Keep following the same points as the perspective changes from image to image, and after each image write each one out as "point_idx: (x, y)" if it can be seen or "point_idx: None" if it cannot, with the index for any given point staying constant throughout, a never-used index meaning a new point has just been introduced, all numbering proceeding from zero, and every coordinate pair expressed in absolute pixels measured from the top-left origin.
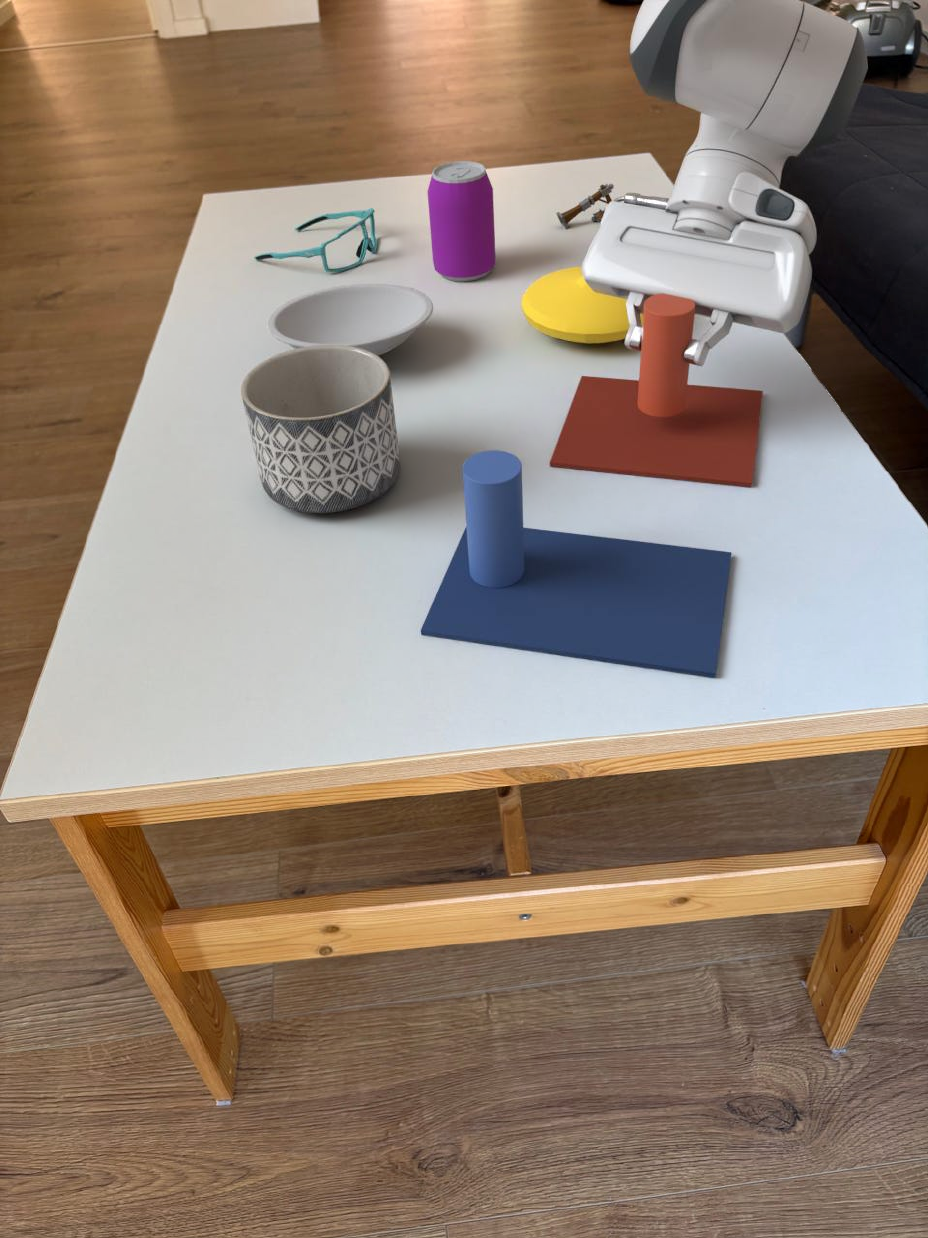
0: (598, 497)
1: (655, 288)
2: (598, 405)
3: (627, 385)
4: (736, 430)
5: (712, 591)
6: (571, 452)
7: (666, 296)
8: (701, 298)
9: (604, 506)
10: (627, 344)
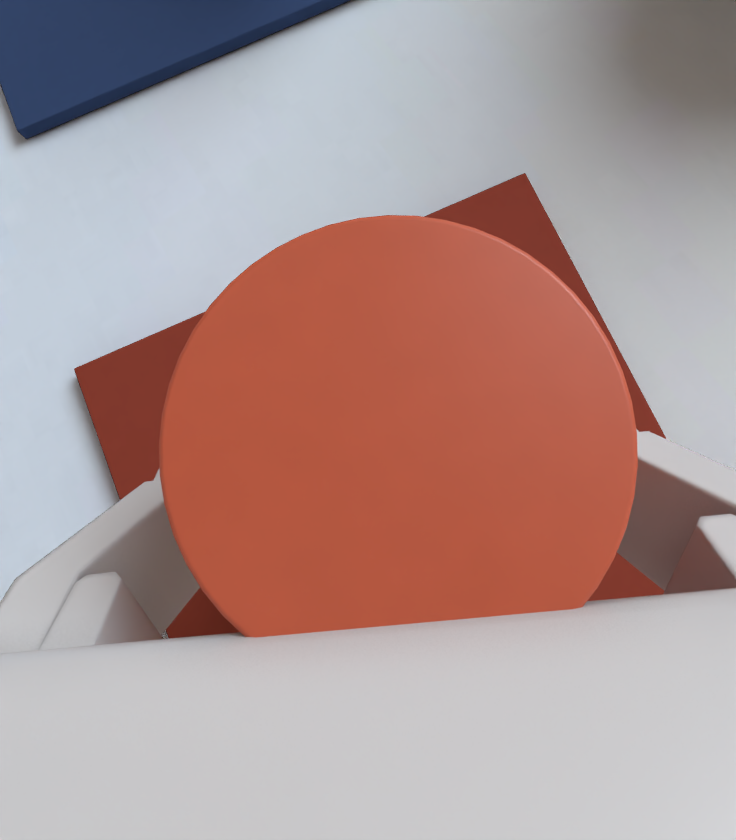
0: (355, 150)
1: (686, 619)
2: None
3: None
4: None
5: (3, 17)
6: (507, 234)
7: (503, 563)
8: (149, 663)
9: (326, 132)
10: None
